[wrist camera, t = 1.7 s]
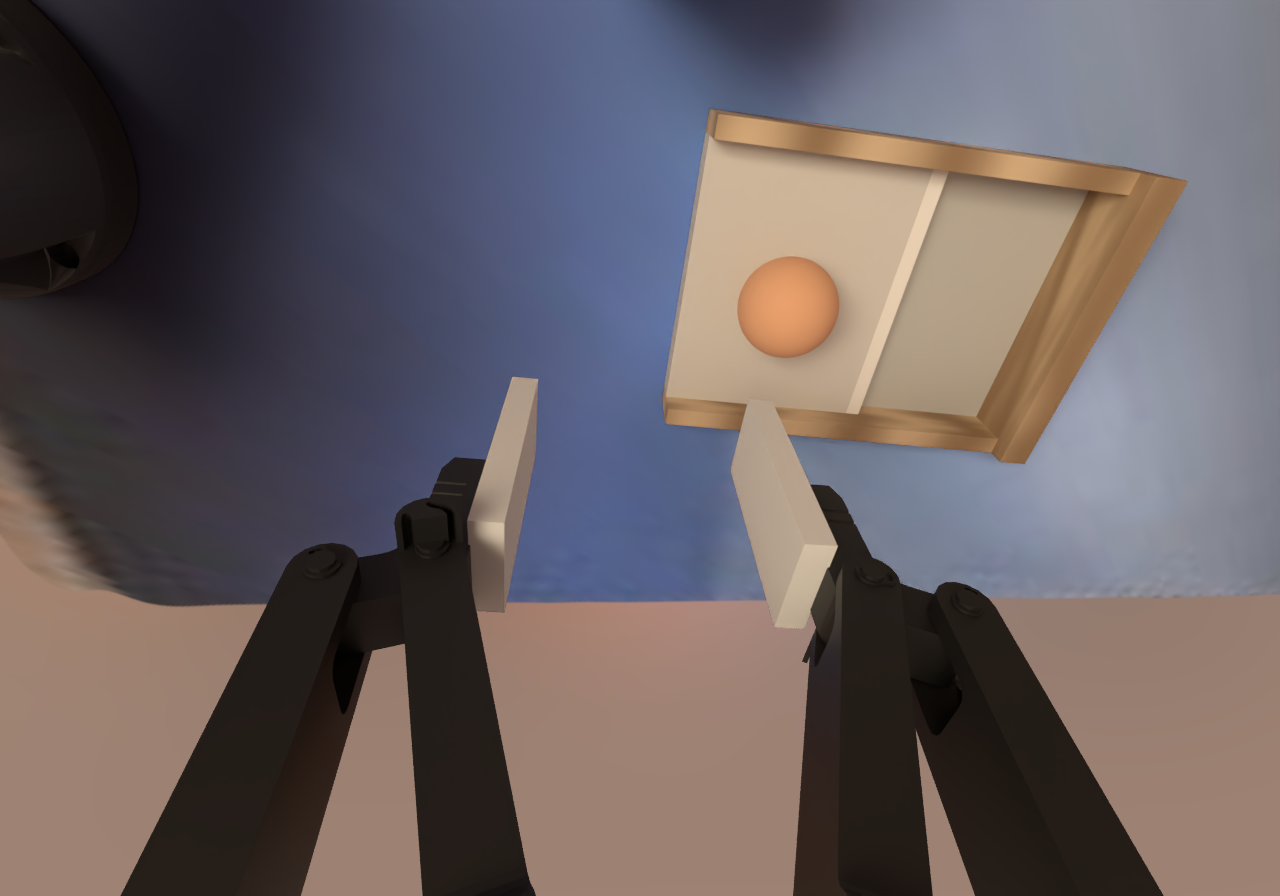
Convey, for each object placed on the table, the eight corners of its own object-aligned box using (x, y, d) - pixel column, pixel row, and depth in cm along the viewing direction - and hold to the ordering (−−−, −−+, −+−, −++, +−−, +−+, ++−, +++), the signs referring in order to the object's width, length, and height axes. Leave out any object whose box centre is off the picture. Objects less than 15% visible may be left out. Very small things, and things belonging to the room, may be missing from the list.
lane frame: (662, 399, 38) (666, 432, 34) (709, 108, 29) (721, 115, 25) (989, 429, 40) (1024, 463, 36) (1126, 167, 31) (1188, 181, 28)
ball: (721, 330, 34) (737, 369, 29) (741, 239, 31) (760, 268, 27) (807, 339, 34) (835, 379, 30) (834, 250, 31) (867, 280, 27)
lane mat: (664, 384, 37) (665, 396, 36) (705, 131, 29) (709, 135, 28) (973, 414, 39) (985, 426, 38) (1087, 184, 31) (1107, 189, 30)
